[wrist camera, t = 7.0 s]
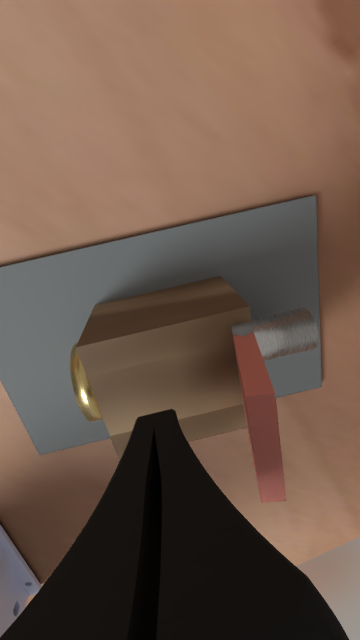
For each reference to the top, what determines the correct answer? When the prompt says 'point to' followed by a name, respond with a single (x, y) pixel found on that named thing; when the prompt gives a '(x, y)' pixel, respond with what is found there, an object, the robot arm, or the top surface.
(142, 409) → the block
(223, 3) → the top surface
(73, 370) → the pin
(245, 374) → the strip
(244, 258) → the mat
